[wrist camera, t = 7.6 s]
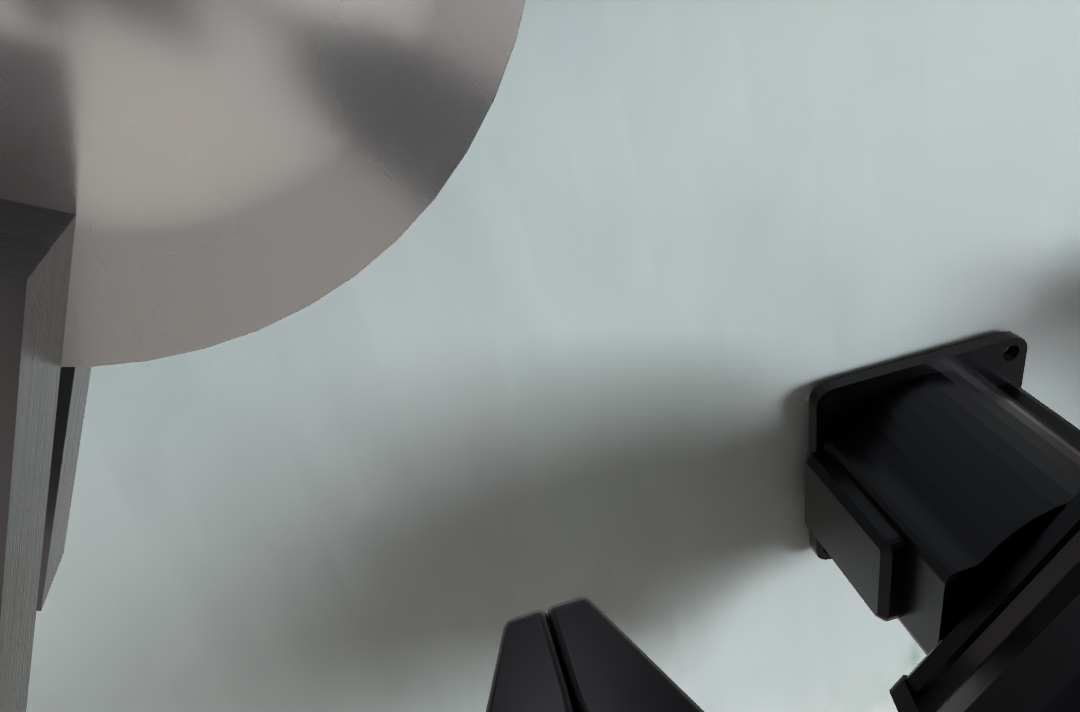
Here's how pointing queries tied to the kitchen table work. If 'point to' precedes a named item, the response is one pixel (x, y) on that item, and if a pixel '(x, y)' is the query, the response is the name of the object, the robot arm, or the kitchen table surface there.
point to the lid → (201, 191)
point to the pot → (62, 471)
